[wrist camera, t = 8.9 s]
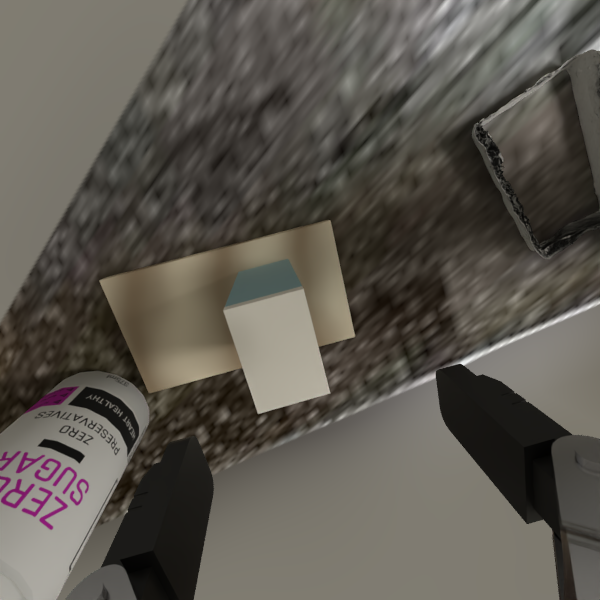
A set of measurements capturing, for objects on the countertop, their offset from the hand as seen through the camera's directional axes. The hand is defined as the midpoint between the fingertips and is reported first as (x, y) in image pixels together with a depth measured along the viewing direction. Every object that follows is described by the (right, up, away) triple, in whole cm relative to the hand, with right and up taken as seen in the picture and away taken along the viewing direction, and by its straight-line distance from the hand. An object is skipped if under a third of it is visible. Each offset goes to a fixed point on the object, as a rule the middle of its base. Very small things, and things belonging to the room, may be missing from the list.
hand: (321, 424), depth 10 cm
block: (-3, +4, +15) cm, 16 cm away
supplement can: (-18, -6, +18) cm, 26 cm away
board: (-6, +4, +17) cm, 18 cm away
